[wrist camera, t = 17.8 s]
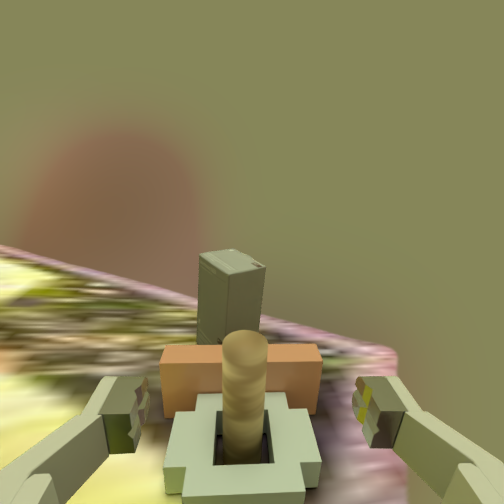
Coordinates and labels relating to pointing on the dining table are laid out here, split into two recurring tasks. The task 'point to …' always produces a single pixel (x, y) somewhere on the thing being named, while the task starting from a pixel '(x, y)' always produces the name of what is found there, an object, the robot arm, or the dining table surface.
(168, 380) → the wall
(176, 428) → the block
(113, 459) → the dining table surface
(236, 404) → the dowel
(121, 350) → the dining table surface
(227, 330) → the skincare box
